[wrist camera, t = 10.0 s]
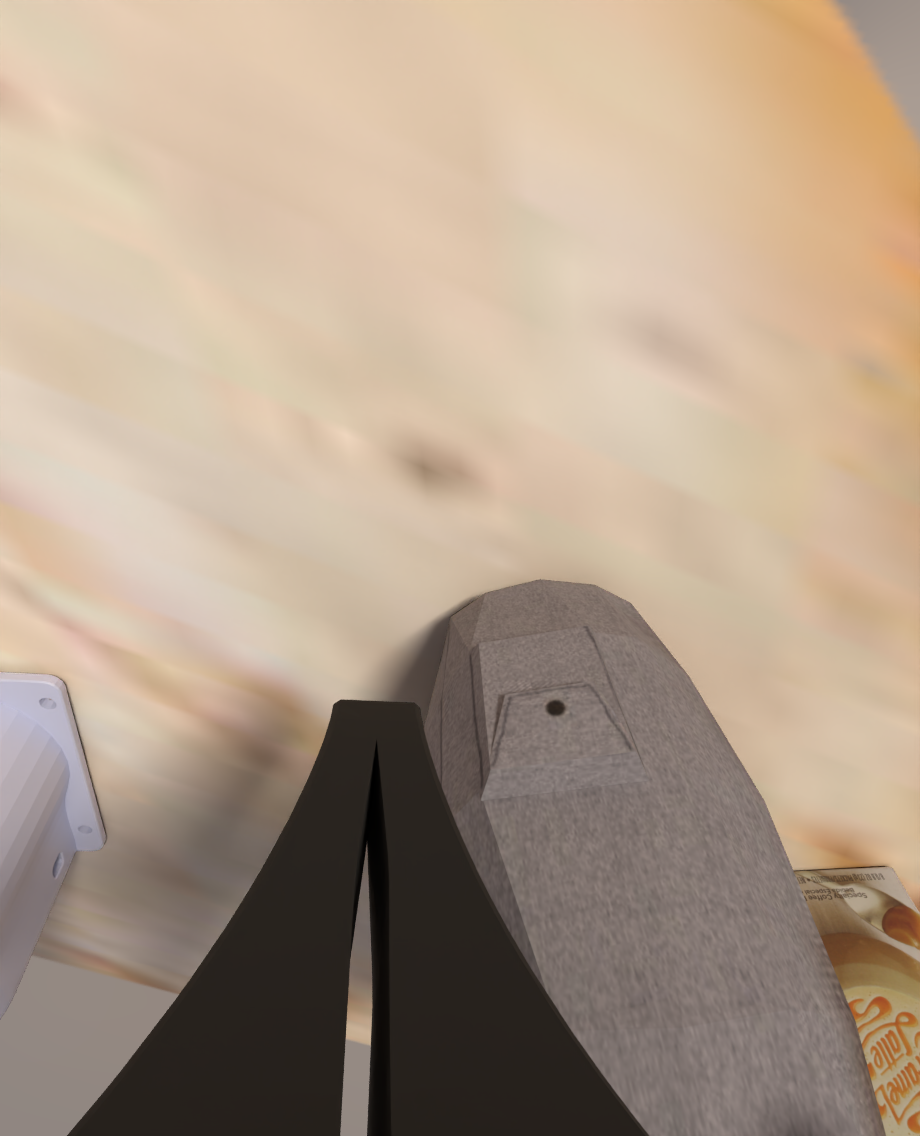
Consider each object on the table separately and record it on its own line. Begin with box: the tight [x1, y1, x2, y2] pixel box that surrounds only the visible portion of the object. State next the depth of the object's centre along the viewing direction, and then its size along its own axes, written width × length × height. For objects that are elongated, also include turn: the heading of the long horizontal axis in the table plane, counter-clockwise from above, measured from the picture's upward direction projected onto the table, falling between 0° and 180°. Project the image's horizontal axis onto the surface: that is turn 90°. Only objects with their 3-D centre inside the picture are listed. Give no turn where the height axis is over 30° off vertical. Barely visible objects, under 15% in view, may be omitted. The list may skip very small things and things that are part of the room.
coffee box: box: [794, 867, 920, 1136], centre depth 28 cm, size 9×6×16 cm
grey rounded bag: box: [424, 579, 886, 1136], centre depth 16 cm, size 15×8×20 cm, turn 3°
